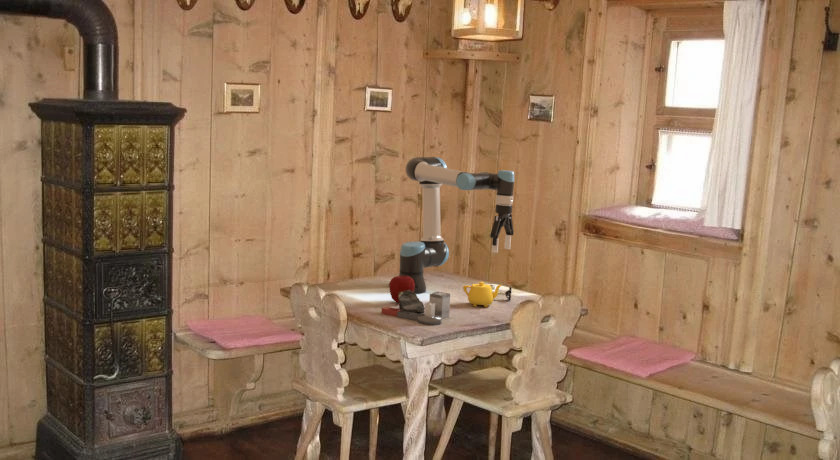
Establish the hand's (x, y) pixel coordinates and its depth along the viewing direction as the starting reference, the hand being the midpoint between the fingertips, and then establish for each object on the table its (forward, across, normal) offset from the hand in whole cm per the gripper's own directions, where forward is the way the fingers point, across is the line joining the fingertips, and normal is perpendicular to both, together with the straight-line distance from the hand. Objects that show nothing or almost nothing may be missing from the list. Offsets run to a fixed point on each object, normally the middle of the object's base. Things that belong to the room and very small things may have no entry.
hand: (501, 250), depth 386 cm
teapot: (+26, -5, +6) cm, 27 cm away
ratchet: (+25, -48, +17) cm, 57 cm away
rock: (+26, -38, +24) cm, 52 cm away
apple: (+26, -27, +36) cm, 51 cm away
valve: (+26, +11, +5) cm, 29 cm away
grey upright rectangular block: (+25, -38, +10) cm, 47 cm away
